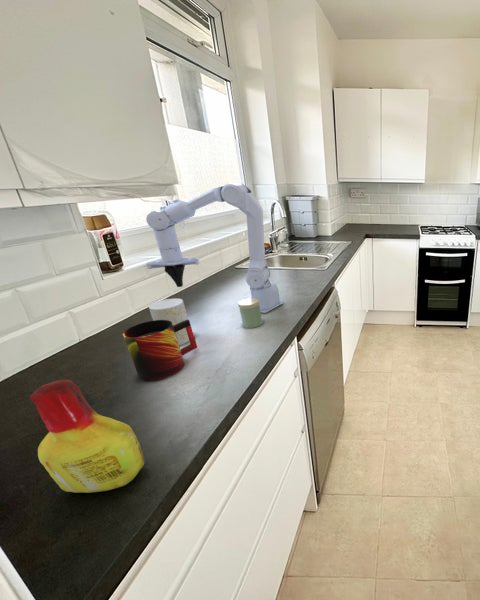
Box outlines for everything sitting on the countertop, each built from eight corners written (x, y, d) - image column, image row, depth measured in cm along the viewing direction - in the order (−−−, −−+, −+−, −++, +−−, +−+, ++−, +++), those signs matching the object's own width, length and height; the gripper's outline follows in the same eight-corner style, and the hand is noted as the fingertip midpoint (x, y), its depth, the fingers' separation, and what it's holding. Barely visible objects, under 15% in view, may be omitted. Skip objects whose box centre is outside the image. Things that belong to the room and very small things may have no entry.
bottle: (47, 507, 47) (-20, 402, 40) (79, 470, 53) (26, 373, 46) (135, 494, 49) (88, 391, 42) (157, 460, 55) (118, 364, 48)
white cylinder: (176, 348, 90) (164, 310, 86) (154, 344, 92) (141, 307, 87) (199, 335, 98) (189, 299, 93) (178, 332, 99) (167, 297, 95)
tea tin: (252, 318, 109) (248, 296, 106) (267, 321, 107) (263, 299, 104) (238, 326, 103) (233, 303, 100) (253, 329, 101) (248, 306, 98)
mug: (199, 350, 89) (188, 312, 85) (171, 379, 76) (157, 336, 72) (163, 352, 88) (150, 313, 84) (129, 382, 76) (112, 339, 71)
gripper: (139, 252, 98) (152, 292, 103) (193, 248, 103) (202, 286, 108) (145, 247, 103) (157, 286, 109) (195, 244, 109) (205, 280, 114)
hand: (180, 286), depth 109 cm, fingers closed
